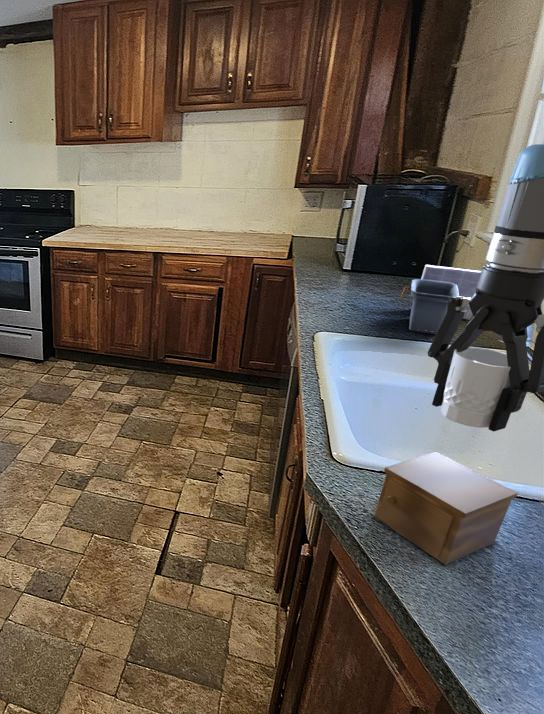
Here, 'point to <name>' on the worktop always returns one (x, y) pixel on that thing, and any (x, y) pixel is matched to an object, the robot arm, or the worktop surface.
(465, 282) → the cake pan box
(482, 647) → the worktop surface
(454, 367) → the white cup
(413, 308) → the storage bin
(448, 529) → the cupboard
